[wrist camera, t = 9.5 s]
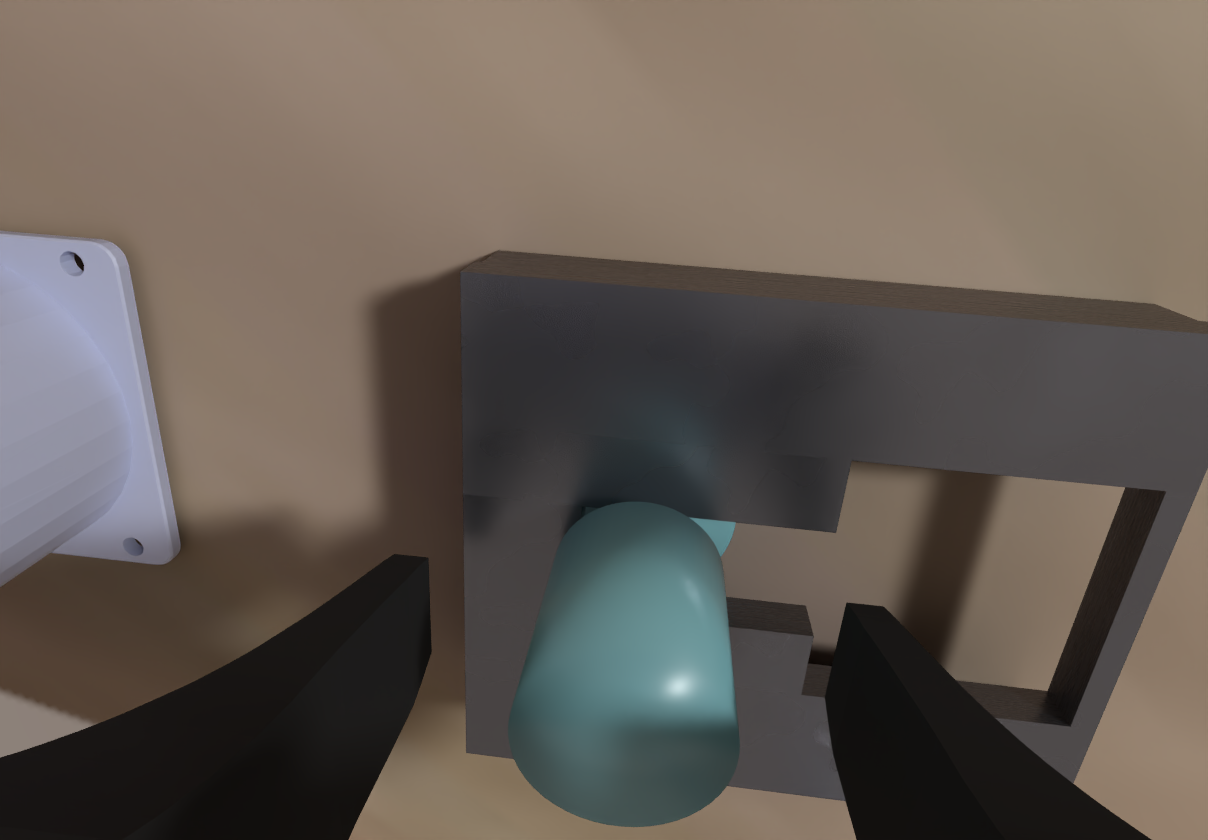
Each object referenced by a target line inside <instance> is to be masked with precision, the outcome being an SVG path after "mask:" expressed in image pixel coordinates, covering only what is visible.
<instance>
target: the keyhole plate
mask: <svg viewBox="0 0 1208 840" xmlns="http://www.w3.org/2000/svg"><path fill="white" fill-rule="evenodd" d="M460 284H461V365H462V447H463V528H464V610H465V691H466V753H471V754H479V755H487V756H495V757H503V758H511V759H514V758H513V755H512V752H511V749H510V745H509V738H508V722H509V717H510V712H511V708H512V705H513V701H514V698H515V694H516V691H517V687H518V684H519V680H520V677H521V674H522V670H523V667H524V663H525V660H526V656H527V653H528V649H529V646H530V642H531V639H532V635H533V632H534V628H535V625H536V621H537V618H538V614H539V611H540V607H541V604H542V600H543V597H544V593H545V590H546V586H547V583H548V579H549V576H550V573H551V569H552V566H553V562H554V559H555V555H556V552H557V549H558V547H559V544H560V542H561V541H562V539H563V537H564V535H565V534H566V533H567V532H568V530H569V529H570V528H571V527H572V526H573V525H574V524H575V523H576V522H577V521H578V520H580V519H581V518H582V517H584V516H585V512H586V507H592V508H601V507H604V506H607V505H611V504H615V503H621V502H649V503H654V504H659V505H663V506H666V507H669V508H672V509H674V510H676V511H678V512H680V513H682V514H684V515H686V516H687V517H689V518H698V519H708V520H717V521H727V522H737V523H746V524H756V525H766V526H775V527H785V528H795V529H804V530H814V531H823V532H833V533H836V531H837V526H838V521H839V517H840V512H841V507H842V503H843V498H844V493H845V489H846V484H847V479H848V475H849V470H850V466H851V461H861V462H871V463H882V464H892V465H902V466H913V467H923V468H933V469H943V470H954V471H964V472H974V473H984V474H995V475H1005V476H1015V477H1025V478H1036V479H1046V480H1056V481H1067V482H1077V483H1087V484H1097V485H1108V486H1118V487H1125V490H1124V493H1123V495H1122V498H1121V500H1120V503H1119V506H1118V508H1117V511H1116V514H1115V516H1114V519H1113V521H1112V524H1111V527H1110V529H1109V532H1108V534H1107V537H1106V540H1105V542H1104V545H1103V548H1102V550H1101V553H1100V555H1099V558H1098V561H1097V563H1096V566H1095V569H1094V571H1093V574H1092V576H1091V579H1090V582H1089V584H1088V587H1087V589H1086V592H1085V595H1084V597H1083V600H1082V603H1081V605H1080V608H1079V610H1078V613H1077V616H1076V618H1075V621H1074V623H1073V626H1072V629H1071V631H1070V634H1069V637H1068V639H1067V642H1066V644H1065V647H1064V650H1063V652H1062V655H1061V657H1060V660H1059V663H1058V665H1057V668H1056V671H1055V673H1054V676H1053V678H1052V681H1051V684H1050V686H1049V689H1048V691H1042V690H1033V689H1025V688H1016V687H1007V686H999V685H990V684H981V683H973V682H964V681H957V682H958V683H959V684H960V685H961V686H962V687H963V688H964V689H965V690H966V691H967V692H968V693H969V694H970V695H971V696H972V697H973V698H974V699H975V700H976V701H977V702H978V703H979V704H980V705H982V706H983V707H984V708H985V709H986V710H987V711H988V712H989V713H990V714H991V715H992V716H993V717H994V718H996V719H997V720H998V721H999V722H1000V723H1001V724H1002V725H1003V726H1005V727H1006V728H1007V729H1008V730H1009V731H1010V732H1011V733H1012V734H1013V735H1015V736H1016V737H1017V738H1018V739H1019V740H1020V741H1021V742H1022V743H1024V744H1025V745H1026V746H1027V747H1028V748H1029V749H1031V750H1032V751H1033V752H1034V753H1035V754H1037V755H1038V756H1039V757H1040V758H1041V759H1043V760H1044V761H1045V762H1046V763H1048V764H1049V765H1050V766H1051V767H1053V768H1054V769H1055V770H1057V771H1058V772H1059V773H1060V774H1062V775H1063V776H1064V777H1065V778H1067V779H1068V780H1069V781H1071V782H1072V783H1074V780H1075V778H1076V776H1077V773H1078V771H1079V769H1080V766H1081V764H1082V762H1083V759H1084V757H1085V755H1086V752H1087V750H1088V748H1089V745H1090V743H1091V741H1092V738H1093V736H1094V734H1095V731H1096V729H1097V726H1098V724H1099V722H1100V719H1101V717H1102V715H1103V712H1104V710H1105V708H1106V705H1107V703H1108V701H1109V698H1110V696H1111V694H1112V691H1113V689H1114V687H1115V684H1116V682H1117V680H1118V677H1119V675H1120V673H1121V670H1122V668H1123V665H1124V663H1125V661H1126V658H1127V656H1128V654H1129V651H1130V649H1131V647H1132V644H1133V642H1134V640H1135V637H1136V635H1137V633H1138V630H1139V628H1140V626H1141V623H1142V621H1143V619H1144V616H1145V614H1146V611H1147V609H1148V607H1149V604H1150V602H1151V600H1152V597H1153V595H1154V593H1155V590H1156V588H1157V586H1158V583H1159V581H1160V579H1161V576H1162V574H1163V572H1164V569H1165V567H1166V565H1167V562H1168V560H1169V557H1170V555H1171V553H1172V550H1173V548H1174V546H1175V543H1176V541H1177V539H1178V536H1179V534H1180V532H1181V529H1182V527H1183V525H1184V522H1185V520H1186V518H1187V515H1188V513H1189V511H1190V508H1191V506H1192V503H1193V501H1194V499H1195V496H1196V494H1197V492H1198V489H1199V487H1200V485H1201V482H1202V480H1203V478H1204V475H1205V473H1206V471H1207V468H1208V322H1205V321H1197V320H1195V319H1192V318H1190V317H1187V316H1184V315H1182V314H1179V313H1177V312H1174V311H1171V310H1169V309H1166V308H1164V307H1161V306H1159V305H1156V304H1148V303H1135V302H1123V301H1111V300H1099V299H1086V298H1074V297H1062V296H1050V295H1037V294H1025V293H1013V292H1001V291H988V290H976V289H964V288H952V287H940V286H927V285H915V284H903V283H891V282H878V281H866V280H854V279H842V278H829V277H817V276H805V275H793V274H780V273H768V272H756V271H744V270H731V269H719V268H707V267H695V266H682V265H670V264H658V263H646V262H633V261H621V260H609V259H597V258H584V257H572V256H560V255H548V254H535V253H523V252H511V251H499V250H498V251H497V252H495V253H494V254H492V255H491V256H490V257H488V258H487V259H485V260H484V261H483V262H481V261H475V262H473V263H472V264H471V265H469V266H468V267H466V268H465V269H463V270H462V271H460ZM726 603H727V613H728V623H729V634H730V644H731V655H732V665H733V676H734V686H735V697H736V707H737V718H738V728H739V739H740V753H739V759H738V764H737V767H736V769H735V772H734V775H733V777H732V778H731V780H730V782H729V783H728V785H727V786H731V787H739V788H747V789H755V790H763V791H771V792H778V793H786V794H794V795H802V796H810V797H818V798H826V799H834V800H841V801H846V800H845V796H844V793H843V789H842V786H841V782H840V778H839V775H838V771H837V767H836V764H835V760H834V756H833V751H832V745H831V738H830V732H829V725H828V718H827V711H826V703H825V694H826V689H827V685H828V681H829V676H830V672H831V668H832V666H825V665H817V664H808V660H809V656H810V651H811V646H812V642H813V637H814V636H813V632H812V628H811V624H810V620H809V617H808V613H807V609H806V606H803V605H794V604H785V603H776V602H767V601H758V600H749V599H740V598H731V597H726Z"/></svg>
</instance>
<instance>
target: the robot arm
mask: <svg viewBox="0 0 1208 840" xmlns="http://www.w3.org/2000/svg"><path fill="white" fill-rule="evenodd" d="M75 253H76V254H77V255H78V256H79V257H80V258H81V259H82V261H83V264H84V271H82V270H81V269H80V268H79V267H78V266H77V264H76V262H75V260H74V257H75ZM135 539H137V540H138V541H139V542H140V543H141V544H142V546H141V545H139V544H138V543H137V542H136V540H135ZM180 547H181V543H180V538H179V532H178V527H177V522H176V516H175V511H174V505H173V500H172V495H171V489H170V484H169V479H168V473H167V468H166V463H165V457H164V452H163V447H162V441H161V436H160V430H159V425H158V420H157V414H156V409H155V404H154V398H153V393H152V388H151V382H150V377H149V371H148V366H147V361H146V355H145V350H144V345H143V339H142V334H141V329H140V323H139V318H138V313H137V307H136V302H135V296H134V291H133V286H132V280H131V275H130V270H129V265H128V262H127V259H126V256H125V255H124V253H123V252H122V251H121V250H120V248H119V247H117V246H116V245H115V244H113V243H112V242H110V241H106V240H103V239H93V238H81V237H69V236H57V235H45V234H33V233H21V232H9V231H0V587H1V586H3V585H4V584H6V583H7V582H9V581H10V580H12V579H13V578H14V577H16V576H17V575H19V574H20V573H22V572H23V571H25V570H26V569H28V568H29V567H30V566H32V565H33V564H35V563H36V562H38V561H39V560H41V559H42V558H44V557H45V556H47V555H48V554H49V553H57V554H65V555H74V556H83V557H92V558H101V559H110V560H118V561H127V562H136V563H145V564H154V565H163V564H166V563H168V562H170V561H171V560H172V559H173V558H174V557H175V556H177V555H178V553H179V551H180ZM431 652H432V650H431V621H430V592H429V563H428V558H426V557H417V556H407V555H398V554H394V555H392V556H391V557H389V558H388V559H386V560H385V561H383V562H382V563H381V564H379V565H378V566H376V567H375V568H374V569H372V570H371V571H370V572H368V573H367V574H365V575H364V576H363V577H361V578H360V579H359V580H357V581H356V582H354V583H353V584H352V585H350V586H349V587H347V588H346V589H345V590H343V591H342V592H340V593H339V594H338V595H336V596H335V597H333V598H332V599H330V600H329V601H328V602H326V603H325V604H323V605H322V606H320V607H319V608H318V609H316V610H315V611H313V612H312V613H310V614H309V615H307V616H306V617H304V618H303V619H301V620H300V621H298V622H296V623H295V624H293V625H292V626H290V627H289V628H287V629H285V630H284V631H282V632H281V633H279V634H277V635H276V636H274V637H273V638H271V639H270V640H268V641H266V642H265V643H263V644H262V645H260V646H259V647H257V648H255V649H253V650H252V651H250V652H248V653H247V654H245V655H243V656H241V657H240V658H238V659H236V660H234V661H232V662H231V663H229V664H227V665H225V666H223V667H221V668H219V669H217V670H215V671H214V672H212V673H210V674H208V675H206V676H204V677H202V678H200V679H198V680H196V681H194V682H192V683H190V684H188V685H186V686H184V687H182V688H180V689H177V690H175V691H173V692H171V693H168V694H166V695H164V696H162V697H159V698H157V699H155V700H153V701H151V702H148V703H146V704H144V705H142V706H139V707H137V708H135V709H133V710H130V711H128V712H126V713H124V714H121V715H119V716H116V717H114V718H111V719H109V720H106V721H104V722H101V723H99V724H96V725H93V726H91V727H88V728H86V729H83V730H81V731H78V732H75V733H72V734H70V735H67V736H64V737H61V738H58V739H56V740H53V741H50V742H47V743H44V744H42V745H39V746H35V747H32V748H30V749H27V750H24V751H21V752H18V753H14V754H11V755H7V756H4V757H1V758H0V840H348V839H349V837H350V835H351V833H352V830H353V828H354V826H355V824H356V822H357V820H358V817H359V815H360V813H361V811H362V809H363V807H364V805H365V803H366V801H367V799H368V797H369V795H370V793H371V791H372V789H373V787H374V785H375V783H376V781H377V779H378V777H379V775H380V773H381V771H382V769H383V767H384V765H385V763H386V761H387V759H388V757H389V755H390V753H391V751H392V749H393V747H394V744H395V742H396V740H397V738H398V736H399V734H400V732H401V730H402V728H403V726H404V724H405V722H406V720H407V718H408V715H409V713H410V711H411V709H412V707H413V705H414V702H415V699H416V697H417V694H418V691H419V688H420V685H421V682H422V679H423V676H424V673H425V670H426V667H427V664H428V661H429V658H430V655H431ZM825 703H826V711H827V718H828V725H829V732H830V738H831V745H832V751H833V756H834V760H835V764H836V767H837V771H838V775H839V778H840V782H841V786H842V789H843V793H844V796H845V800H846V804H847V807H848V811H849V814H850V818H851V821H852V825H853V828H854V832H855V835H856V839H857V840H1151V839H1150V838H1148V837H1147V836H1145V835H1144V834H1142V833H1141V832H1139V831H1138V830H1137V829H1135V828H1134V827H1132V826H1131V825H1129V824H1128V823H1126V822H1125V821H1124V820H1122V819H1121V818H1119V817H1118V816H1116V815H1115V814H1113V813H1112V812H1110V811H1109V810H1108V809H1106V808H1105V807H1104V806H1102V805H1101V804H1100V803H1098V802H1097V801H1095V800H1094V799H1093V798H1091V797H1090V796H1089V795H1087V794H1086V793H1085V792H1083V791H1082V790H1081V789H1079V788H1078V787H1077V786H1076V785H1074V784H1073V783H1072V782H1071V781H1069V780H1068V779H1067V778H1065V777H1064V776H1063V775H1062V774H1060V773H1059V772H1058V771H1057V770H1055V769H1054V768H1053V767H1051V766H1050V765H1049V764H1048V763H1046V762H1045V761H1044V760H1043V759H1041V758H1040V757H1039V756H1038V755H1037V754H1035V753H1034V752H1033V751H1032V750H1031V749H1029V748H1028V747H1027V746H1026V745H1025V744H1024V743H1022V742H1021V741H1020V740H1019V739H1018V738H1017V737H1016V736H1015V735H1013V734H1012V733H1011V732H1010V731H1009V730H1008V729H1007V728H1006V727H1005V726H1003V725H1002V724H1001V723H1000V722H999V721H998V720H997V719H996V718H994V717H993V716H992V715H991V714H990V713H989V712H988V711H987V710H986V709H985V708H984V707H983V706H982V705H980V704H979V703H978V702H977V701H976V700H975V699H974V698H973V697H972V696H971V695H970V694H969V693H968V692H967V691H966V690H965V689H964V688H963V687H962V686H961V685H960V684H959V683H958V682H957V681H956V680H955V679H954V678H953V677H952V676H951V675H950V674H949V673H948V672H947V671H946V670H945V669H944V668H943V667H942V666H941V665H940V664H939V663H938V662H937V661H936V660H935V659H934V658H933V657H932V656H931V655H930V654H929V653H928V652H927V651H926V650H925V649H924V648H923V646H922V645H921V644H920V643H919V642H918V641H917V640H916V639H915V638H914V637H913V636H912V635H911V634H910V633H909V632H908V631H907V630H906V629H905V628H904V627H903V626H902V625H901V624H900V622H899V621H898V620H897V619H896V618H895V617H894V616H893V615H892V614H891V613H890V612H889V611H888V610H887V609H886V608H884V607H883V606H874V605H864V604H855V603H846V607H845V612H844V616H843V620H842V625H841V629H840V633H839V638H838V642H837V646H836V650H835V655H834V659H833V663H832V668H831V672H830V676H829V681H828V685H827V689H826V694H825Z"/></svg>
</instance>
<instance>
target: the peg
mask: <svg viewBox="0 0 1208 840" xmlns="http://www.w3.org/2000/svg"><path fill="white" fill-rule="evenodd" d="M735 523H736V522H727V521H717V520H708V519H698V518H689V517H687V516H686V515H684V514H682V513H680V512H678V511H676V510H674V509H672V508H669V507H666V506H663V505H659V504H654V503H649V502H621V503H615V504H611V505H607V506H604V507H601V508H592V507H586V512H585V516H584V517H582V518H581V519H580V520H578V521H577V522H576V523H575V524H574V525H573V526H572V527H571V528H570V529H569V530H568V532H567V533H566V534H565V535H564V537H563V539H562V541H561V542H560V544H559V547H558V549H557V552H556V555H555V559H554V562H553V566H552V569H551V573H550V576H549V579H548V583H547V586H546V590H545V593H544V597H543V600H542V604H541V607H540V611H539V614H538V618H537V621H536V625H535V628H534V632H533V635H532V639H531V642H530V646H529V649H528V653H527V656H526V660H525V663H524V667H523V670H522V674H521V677H520V680H519V684H518V687H517V691H516V694H515V698H514V701H513V705H512V708H511V712H510V717H509V722H508V738H509V745H510V749H511V752H512V755H513V758H514V760H515V762H516V764H517V766H518V768H519V770H520V771H521V773H522V774H523V775H524V777H525V778H526V780H527V781H528V782H529V783H530V784H531V785H532V786H533V787H534V788H535V789H536V790H537V791H538V792H539V793H540V794H541V795H542V796H544V797H545V798H546V799H548V800H549V801H551V802H552V803H553V804H555V805H557V806H558V807H560V808H562V809H564V810H565V811H567V812H570V813H572V814H574V815H576V816H579V817H582V818H585V819H588V820H591V821H594V822H598V823H603V824H607V825H614V826H624V827H644V826H654V825H660V824H665V823H669V822H673V821H677V820H679V819H682V818H685V817H687V816H690V815H692V814H694V813H695V812H697V811H699V810H701V809H702V808H704V807H705V806H707V805H708V804H710V803H711V802H712V801H713V800H714V799H715V798H717V797H718V796H719V795H720V794H721V793H722V791H723V790H724V789H725V788H726V786H727V785H728V783H729V782H730V780H731V778H732V777H733V775H734V772H735V769H736V767H737V764H738V759H739V753H740V739H739V728H738V718H737V707H736V697H735V686H734V676H733V665H732V655H731V644H730V634H729V623H728V613H727V603H726V592H725V582H724V571H723V565H722V561H721V558H720V557H721V556H722V554H723V553H724V551H725V550H726V548H727V546H728V544H729V542H730V540H731V538H732V535H733V532H734V529H735Z"/></svg>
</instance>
